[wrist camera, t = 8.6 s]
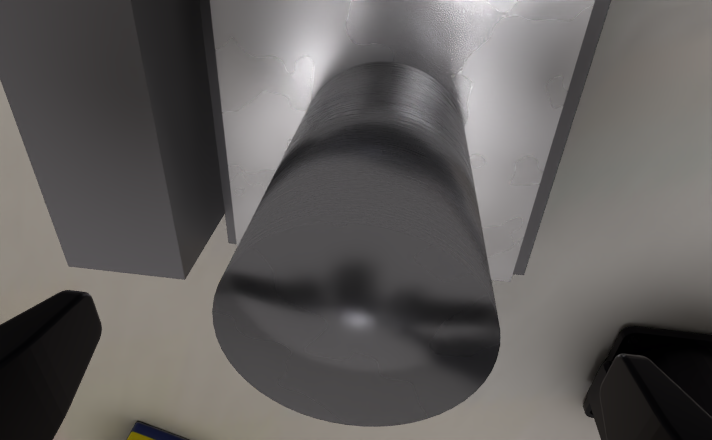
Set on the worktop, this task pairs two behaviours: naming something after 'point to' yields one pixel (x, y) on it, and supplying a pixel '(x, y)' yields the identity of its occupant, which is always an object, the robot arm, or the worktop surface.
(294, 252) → the cylinder
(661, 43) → the worktop surface
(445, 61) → the pan
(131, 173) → the dark grey u-shaped piece
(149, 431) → the supplement box
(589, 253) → the worktop surface
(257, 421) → the worktop surface
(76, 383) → the robot arm
